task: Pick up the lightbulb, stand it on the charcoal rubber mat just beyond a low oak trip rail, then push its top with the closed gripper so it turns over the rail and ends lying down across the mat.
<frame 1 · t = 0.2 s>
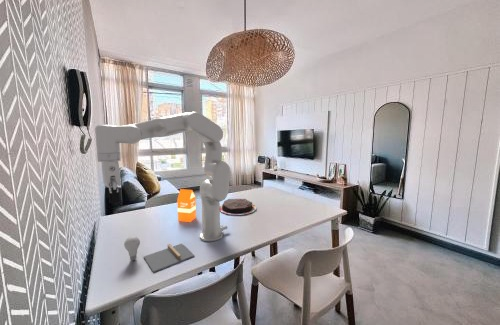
hand: (112, 199, 86), 30 cm above the table, fingers open, 9 cm apart
trip rail: (174, 254, 101), resting on mat
orange juice: (187, 219, 142), on the table
lightbulb: (133, 260, 96), on the table
mat: (169, 257, 98), on the table
chocolate cake: (237, 209, 161), on the table
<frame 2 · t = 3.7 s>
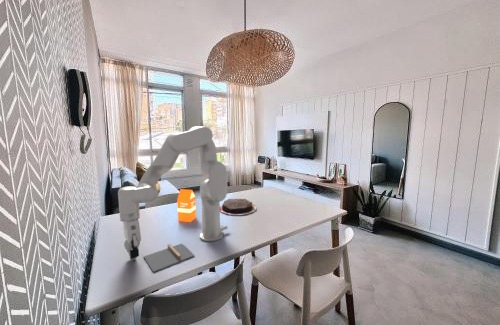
hand: (133, 253, 96), 3 cm above the table, fingers closed on lightbulb, 5 cm apart
lightbulb: (133, 260, 96), on the table, touching gripper
everything else where it was.
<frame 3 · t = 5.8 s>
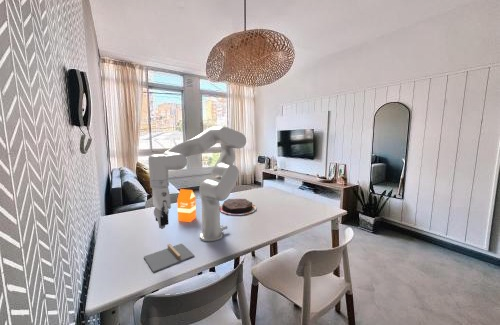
hand: (162, 222, 96), 17 cm above the table, fingers closed on lightbulb, 5 cm apart
lightbulb: (162, 229, 96), point 14 cm above the table, touching gripper
everything else where it was.
when the fingers open (4 cm above the table, at t = 8.0 s): lightbulb stays where it is, resting on mat.
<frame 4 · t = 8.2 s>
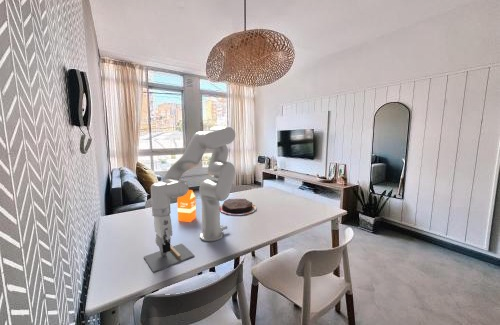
hand: (163, 247, 97), 5 cm above the table, fingers open, 7 cm apart
lightbulb: (163, 256, 98), resting on mat
everything else where it was.
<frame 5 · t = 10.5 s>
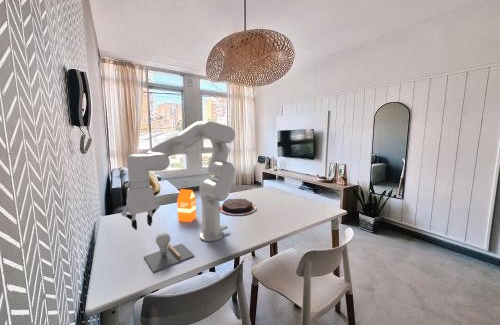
hand: (142, 226, 90), 17 cm above the table, fingers open, 4 cm apart
nothing on the table moved.
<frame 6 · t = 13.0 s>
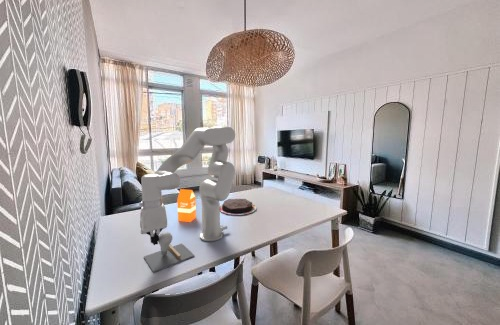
hand: (154, 243, 95), 8 cm above the table, fingers closed
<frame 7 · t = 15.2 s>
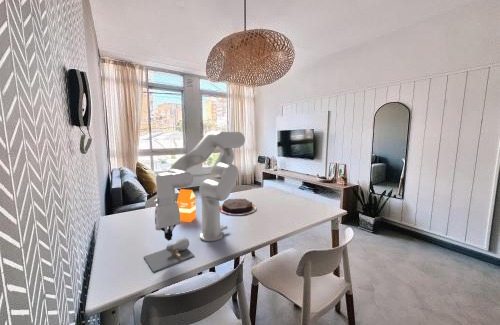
hand: (168, 239, 98), 8 cm above the table, fingers closed
lightbulb: (165, 249, 98), point 4 cm above the table, touching mat, trip rail
everything else where it was.
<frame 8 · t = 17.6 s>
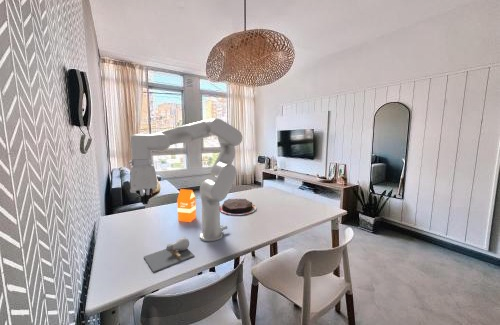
hand: (144, 203, 96), 25 cm above the table, fingers closed
nothing on the table moved.
at the end: lightbulb tilted 93°; lightbulb inside the target area (5.6 cm from its centre), point 4.0 cm above the table; the gripper is holding nothing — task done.
